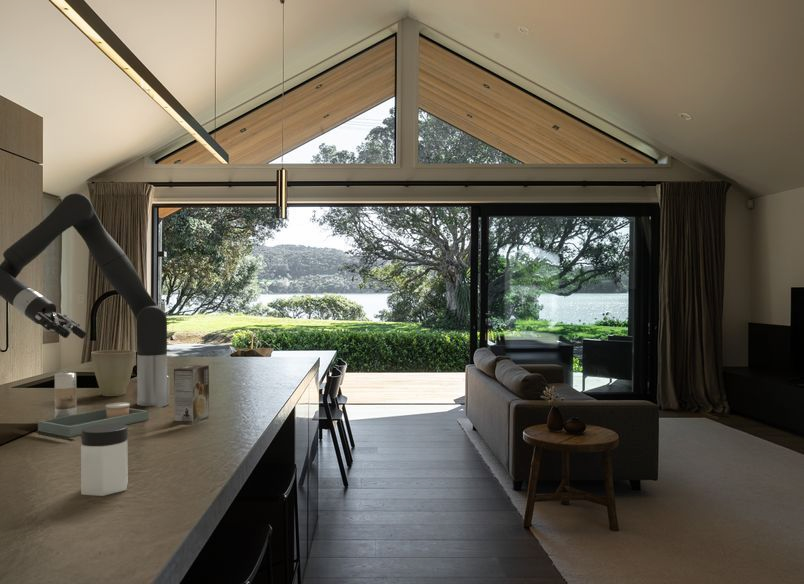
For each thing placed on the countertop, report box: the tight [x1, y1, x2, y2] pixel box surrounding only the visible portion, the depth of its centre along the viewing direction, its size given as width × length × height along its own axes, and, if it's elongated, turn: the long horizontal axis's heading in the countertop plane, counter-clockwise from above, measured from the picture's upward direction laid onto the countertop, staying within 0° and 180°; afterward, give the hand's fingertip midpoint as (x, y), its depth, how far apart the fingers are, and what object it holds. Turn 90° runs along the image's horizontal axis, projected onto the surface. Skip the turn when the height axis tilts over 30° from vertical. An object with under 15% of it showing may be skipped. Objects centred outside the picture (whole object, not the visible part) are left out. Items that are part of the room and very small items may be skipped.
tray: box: [37, 407, 150, 442], centre depth 174 cm, size 24×14×4 cm, turn 150°
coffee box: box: [173, 364, 210, 426], centre depth 183 cm, size 9×6×16 cm
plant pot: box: [90, 349, 137, 397], centre depth 229 cm, size 15×15×16 cm
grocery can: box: [54, 371, 78, 418], centre depth 184 cm, size 6×6×14 cm
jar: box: [80, 424, 129, 497], centre depth 121 cm, size 9×8×12 cm
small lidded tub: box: [105, 401, 131, 419], centre depth 180 cm, size 6×6×5 cm
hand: (76, 335), depth 186 cm, fingers open, 8 cm apart
